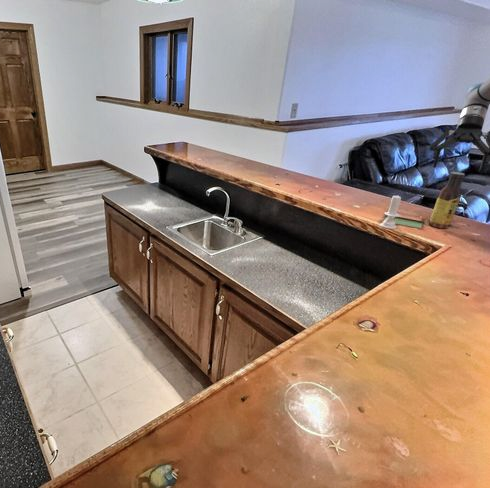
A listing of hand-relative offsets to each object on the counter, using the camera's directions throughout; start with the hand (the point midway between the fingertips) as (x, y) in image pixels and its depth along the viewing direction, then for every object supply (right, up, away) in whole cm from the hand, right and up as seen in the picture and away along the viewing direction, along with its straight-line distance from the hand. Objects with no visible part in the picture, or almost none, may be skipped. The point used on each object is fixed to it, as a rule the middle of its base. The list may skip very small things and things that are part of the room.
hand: (457, 168), depth 128 cm
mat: (-16, -19, +5) cm, 26 cm away
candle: (-25, -21, +1) cm, 33 cm away
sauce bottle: (-6, -22, +1) cm, 22 cm away
